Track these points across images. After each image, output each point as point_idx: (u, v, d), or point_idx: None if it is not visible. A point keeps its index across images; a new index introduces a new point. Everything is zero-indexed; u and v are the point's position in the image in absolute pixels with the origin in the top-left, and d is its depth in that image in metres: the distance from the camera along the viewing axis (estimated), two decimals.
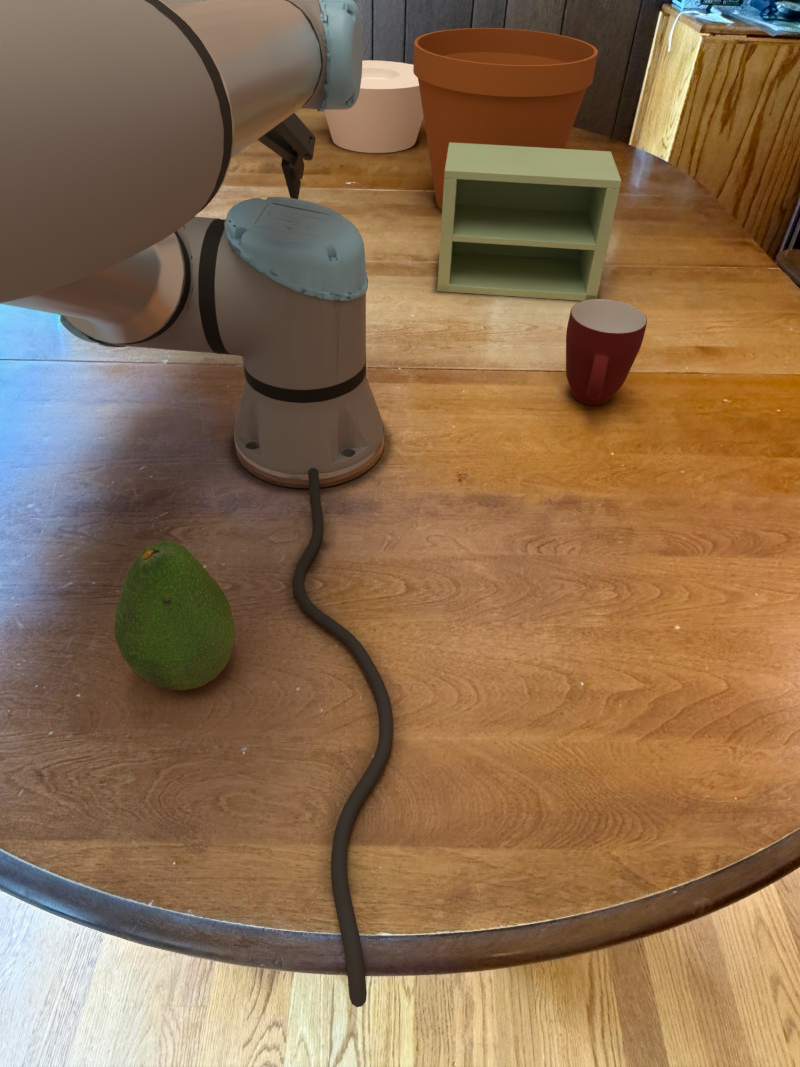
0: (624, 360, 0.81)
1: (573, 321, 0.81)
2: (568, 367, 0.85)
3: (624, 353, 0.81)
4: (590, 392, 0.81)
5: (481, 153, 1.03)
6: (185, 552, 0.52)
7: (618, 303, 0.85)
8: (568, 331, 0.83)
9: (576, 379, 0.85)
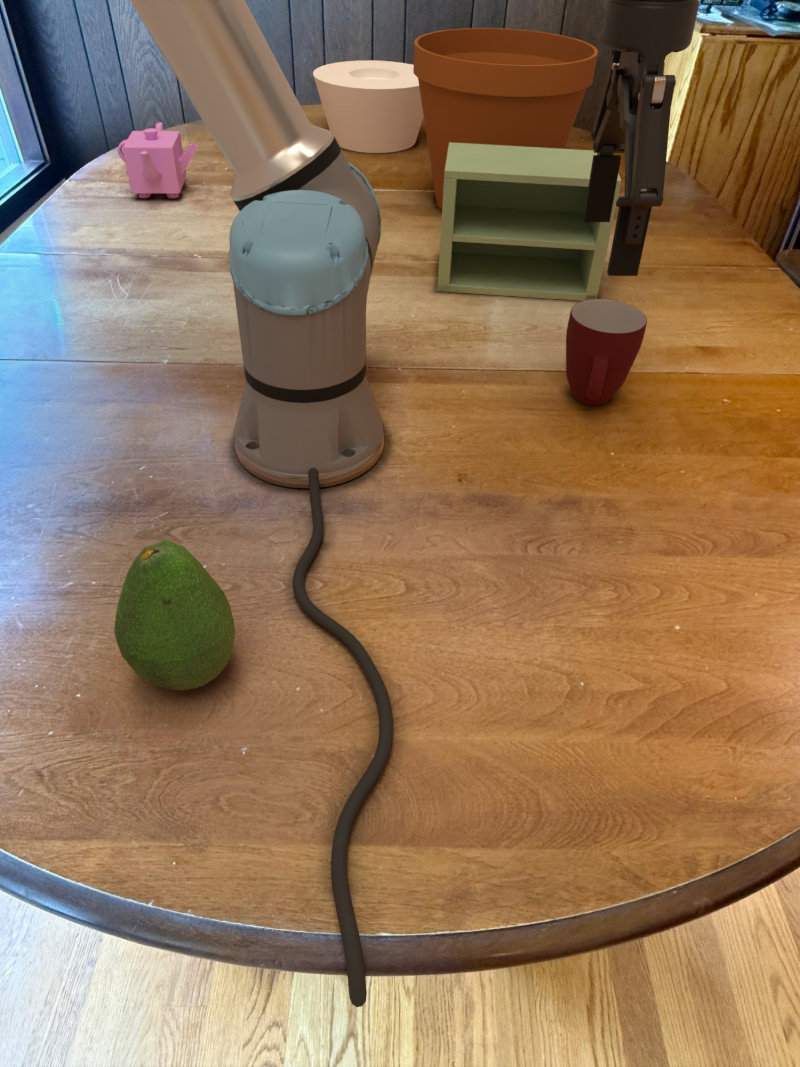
0: (624, 360, 0.81)
1: (573, 321, 0.81)
2: (568, 367, 0.85)
3: (624, 353, 0.81)
4: (590, 392, 0.81)
5: (481, 153, 1.03)
6: (185, 552, 0.52)
7: (618, 303, 0.85)
8: (568, 331, 0.83)
9: (576, 379, 0.85)
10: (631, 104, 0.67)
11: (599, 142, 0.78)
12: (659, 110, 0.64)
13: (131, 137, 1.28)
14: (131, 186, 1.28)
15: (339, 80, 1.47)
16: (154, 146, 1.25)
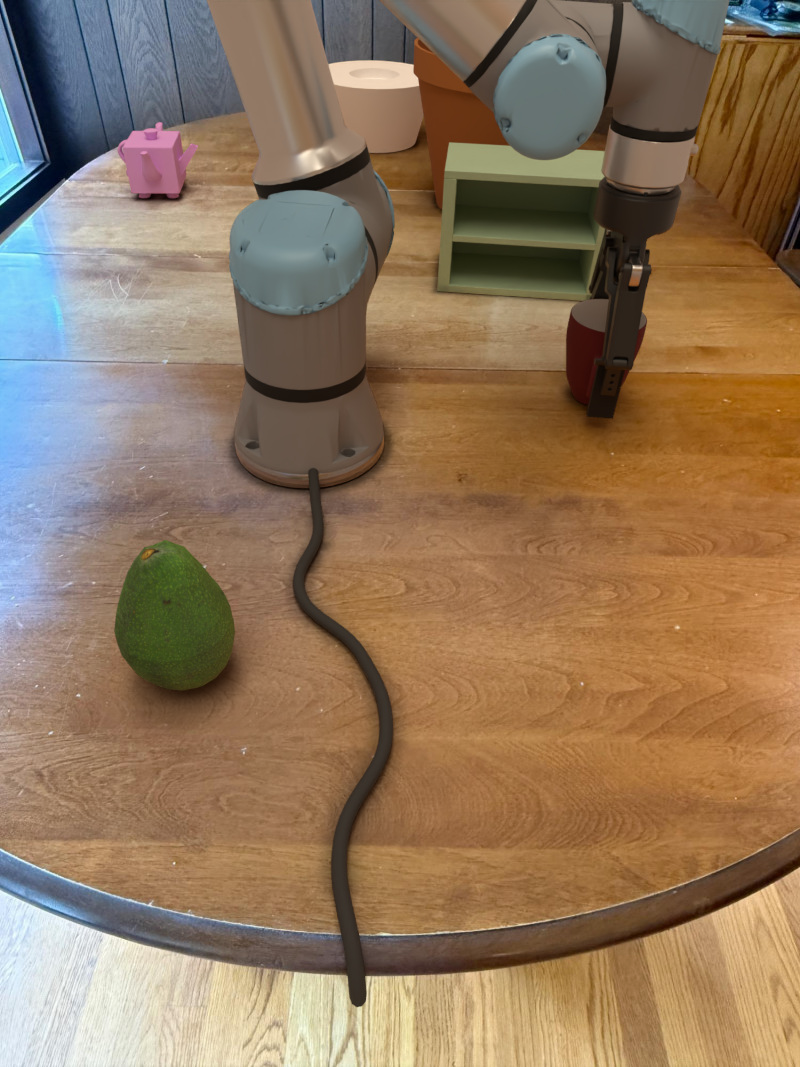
0: None
1: (573, 321, 0.81)
2: (568, 367, 0.85)
3: None
4: (590, 392, 0.81)
5: (481, 153, 1.03)
6: (185, 552, 0.52)
7: None
8: (568, 331, 0.83)
9: (576, 379, 0.85)
10: (616, 274, 0.75)
11: (594, 297, 0.85)
12: (635, 292, 0.72)
13: (131, 137, 1.28)
14: (131, 186, 1.28)
15: (339, 80, 1.47)
16: (154, 146, 1.25)
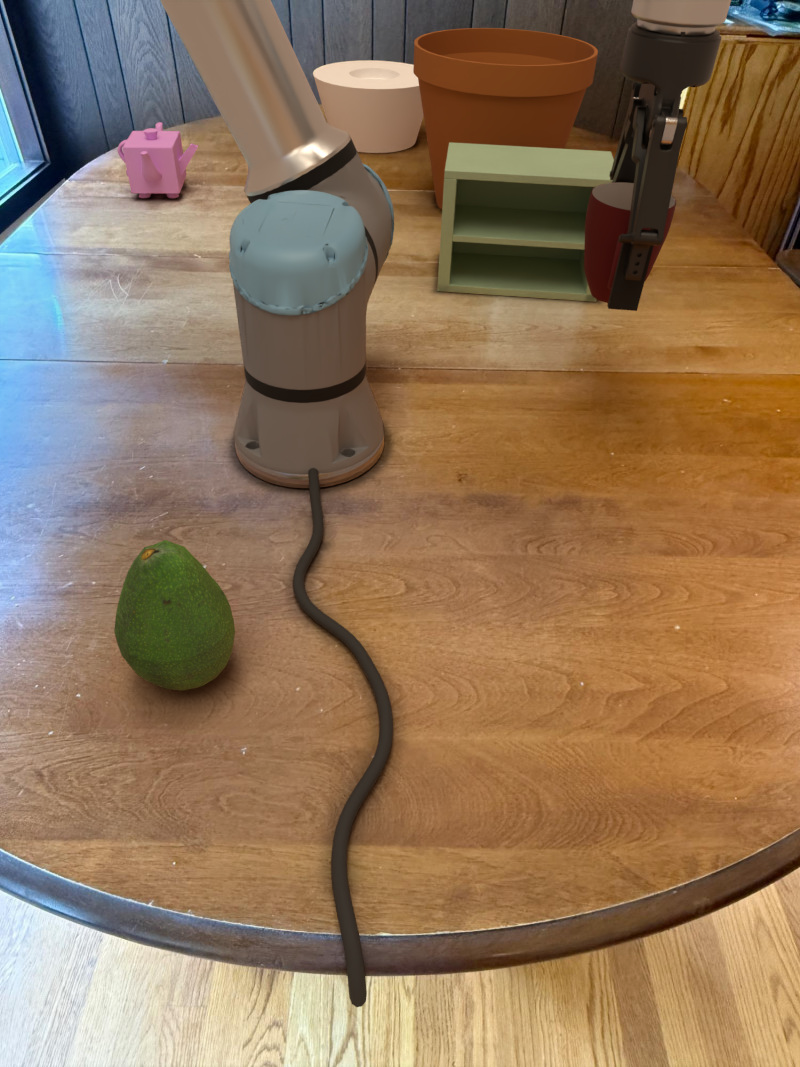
0: None
1: (594, 201, 0.73)
2: (587, 258, 0.77)
3: None
4: (612, 280, 0.73)
5: (481, 153, 1.03)
6: (185, 552, 0.52)
7: None
8: (588, 215, 0.75)
9: (596, 271, 0.76)
10: (645, 136, 0.67)
11: (616, 180, 0.77)
12: (668, 151, 0.63)
13: (131, 137, 1.28)
14: (131, 186, 1.28)
15: (339, 80, 1.47)
16: (154, 146, 1.25)
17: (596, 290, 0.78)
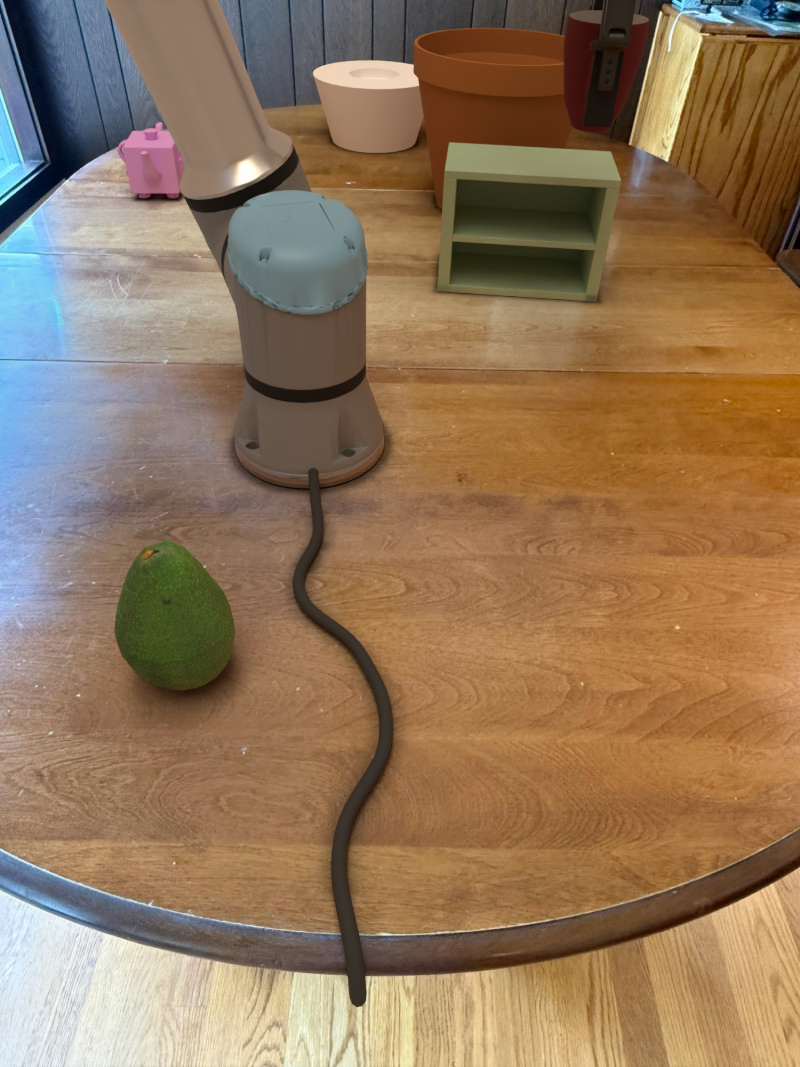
0: (624, 63, 0.76)
1: (570, 21, 0.76)
2: (565, 84, 0.80)
3: None
4: None
5: (481, 153, 1.03)
6: (185, 552, 0.52)
7: None
8: (565, 37, 0.78)
9: (574, 95, 0.80)
10: None
11: (594, 9, 0.80)
12: None
13: (131, 137, 1.28)
14: (131, 186, 1.28)
15: (339, 80, 1.47)
16: (154, 146, 1.25)
17: (575, 118, 0.82)
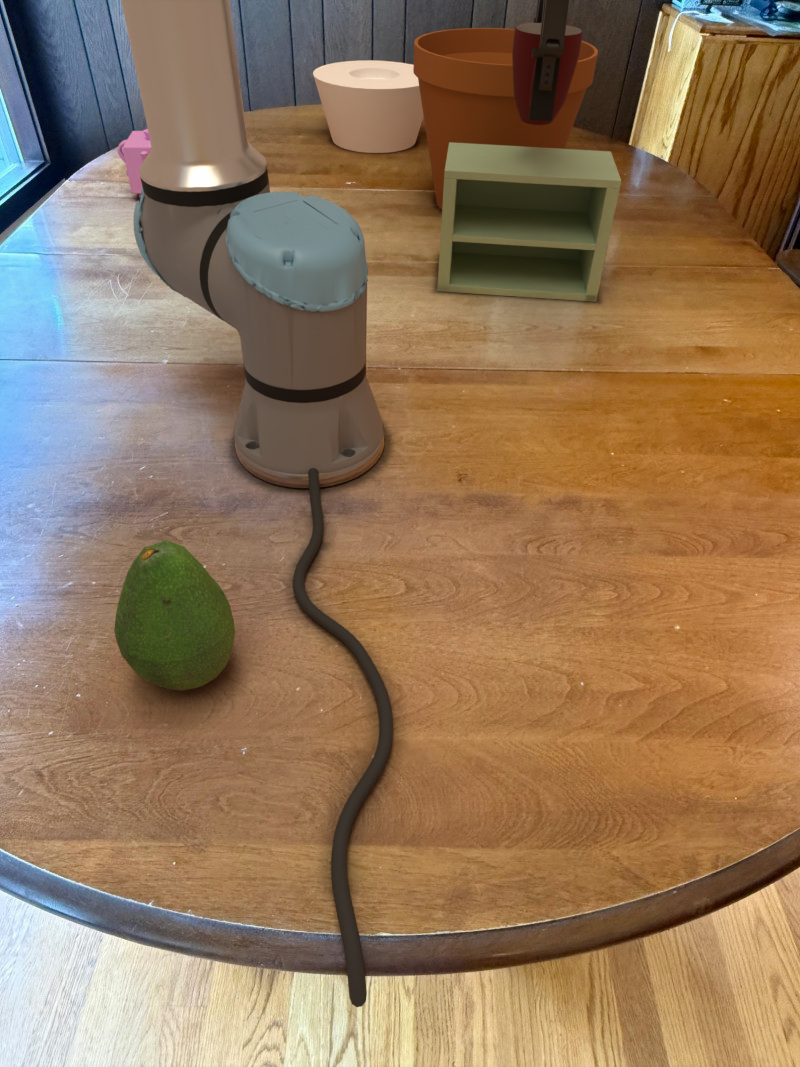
0: (562, 67, 0.92)
1: (517, 32, 0.92)
2: (514, 85, 0.95)
3: (562, 59, 0.91)
4: None
5: (481, 153, 1.03)
6: (185, 552, 0.52)
7: None
8: (513, 46, 0.93)
9: (521, 94, 0.95)
10: None
11: (537, 22, 0.95)
12: None
13: (131, 137, 1.28)
14: (131, 186, 1.28)
15: (339, 80, 1.47)
16: None
17: (523, 113, 0.97)
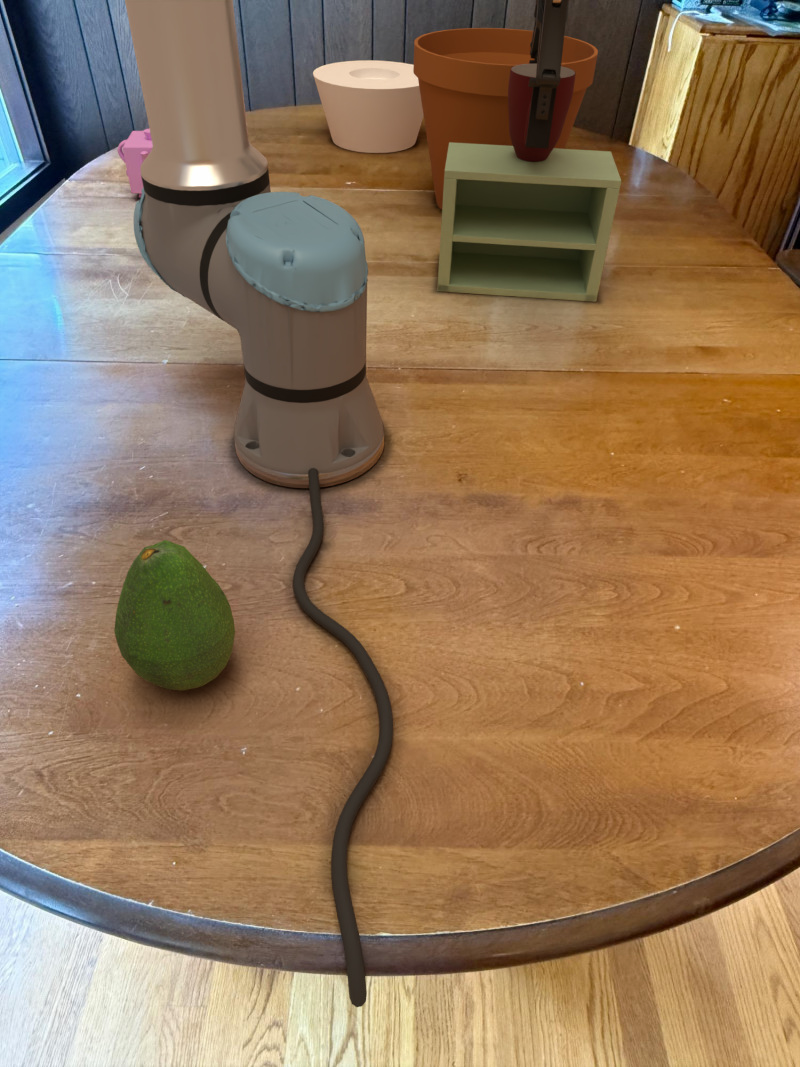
0: (556, 108, 0.95)
1: (512, 74, 0.94)
2: (510, 123, 0.98)
3: (555, 100, 0.94)
4: (526, 135, 0.94)
5: (481, 153, 1.03)
6: (185, 552, 0.52)
7: None
8: (509, 86, 0.96)
9: (517, 133, 0.98)
10: (544, 8, 0.88)
11: (533, 48, 0.98)
12: (558, 8, 0.84)
13: (131, 137, 1.28)
14: (131, 186, 1.28)
15: (339, 80, 1.47)
16: None
17: (519, 150, 1.00)
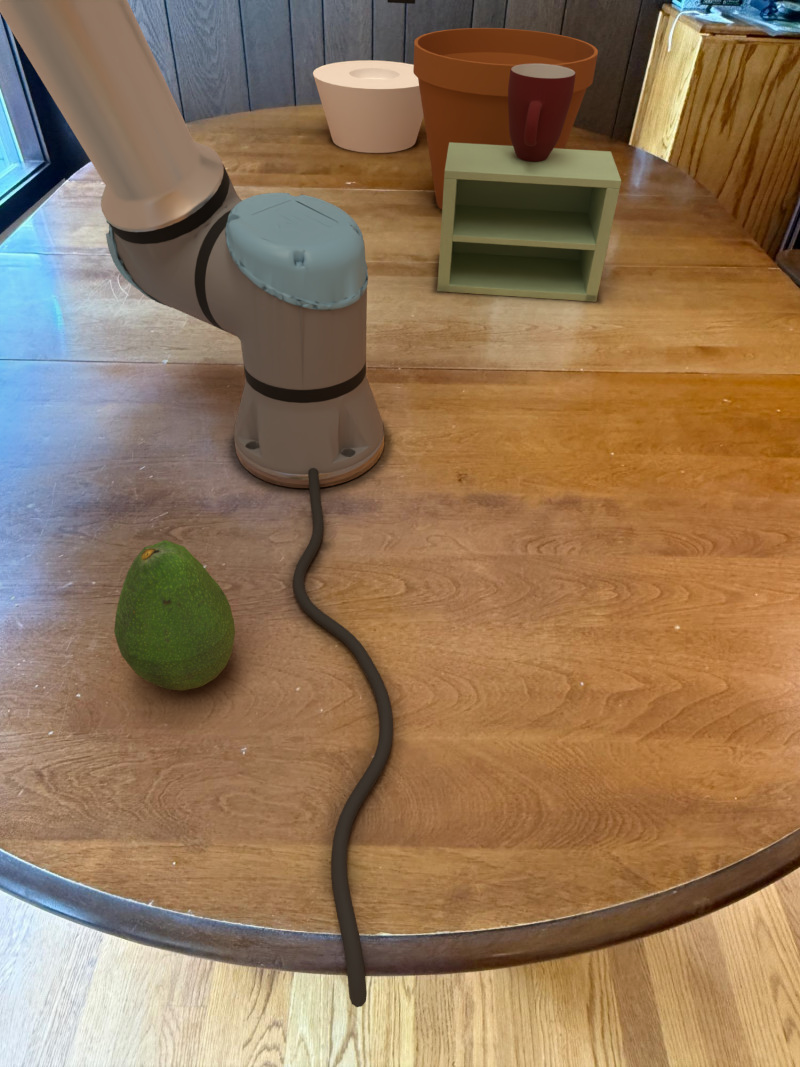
0: (556, 108, 0.95)
1: (512, 74, 0.94)
2: (510, 123, 0.98)
3: (555, 100, 0.94)
4: (526, 135, 0.94)
5: (481, 153, 1.03)
6: (185, 552, 0.52)
7: (553, 67, 0.98)
8: (509, 86, 0.96)
9: (517, 133, 0.98)
10: None
11: None
12: None
13: None
14: None
15: (339, 80, 1.47)
16: None
17: (519, 150, 1.00)
